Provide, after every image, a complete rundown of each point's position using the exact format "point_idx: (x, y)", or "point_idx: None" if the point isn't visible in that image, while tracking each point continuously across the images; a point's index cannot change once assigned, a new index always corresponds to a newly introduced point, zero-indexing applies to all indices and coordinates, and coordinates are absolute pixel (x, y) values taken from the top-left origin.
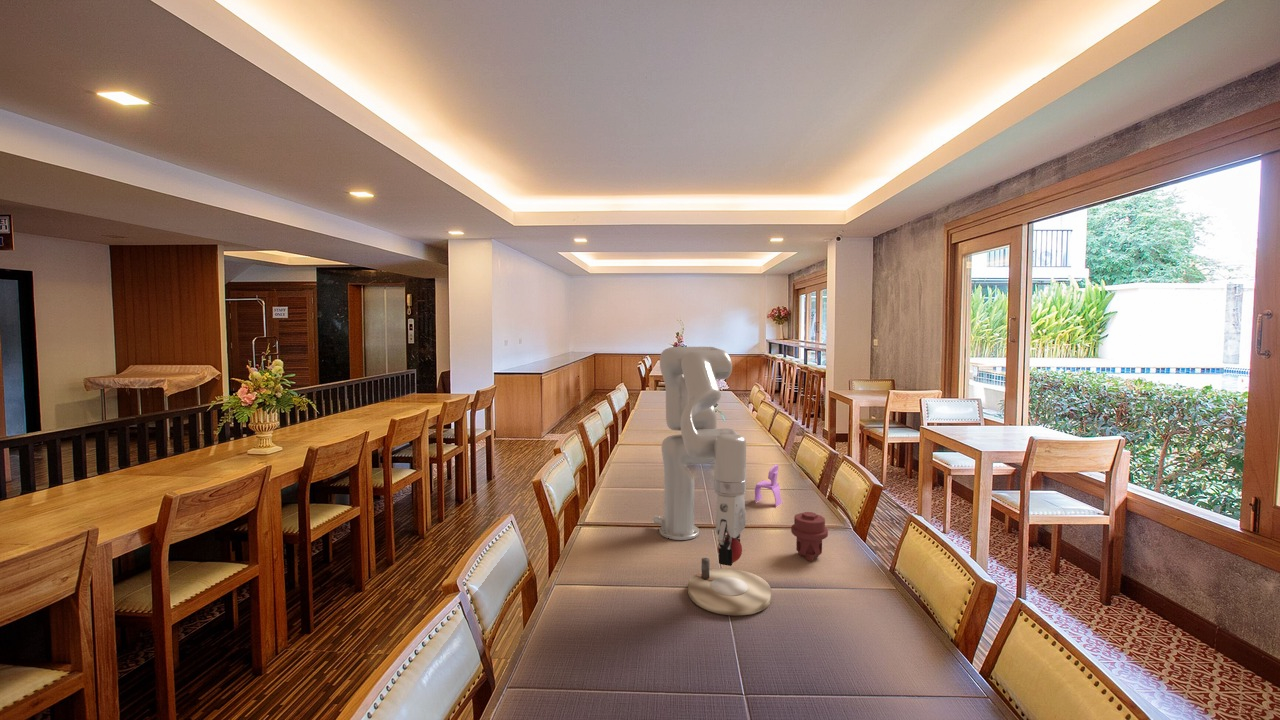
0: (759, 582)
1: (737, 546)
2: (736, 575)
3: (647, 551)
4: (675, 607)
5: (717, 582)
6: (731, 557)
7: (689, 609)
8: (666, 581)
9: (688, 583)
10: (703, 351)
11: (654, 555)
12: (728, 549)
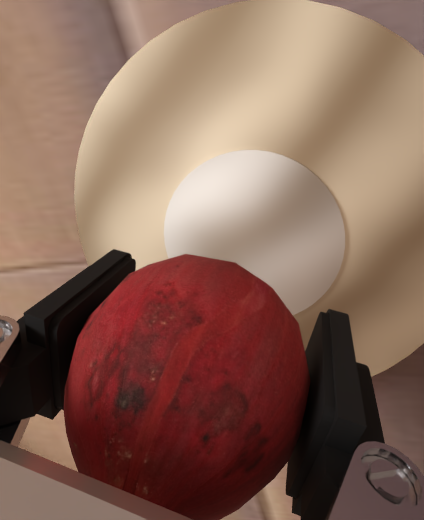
0: (159, 90)
1: (246, 358)
2: (129, 213)
3: (53, 456)
4: (388, 409)
5: None
6: (355, 360)
7: (399, 368)
8: None
9: None
10: None
11: (66, 443)
12: (412, 479)
